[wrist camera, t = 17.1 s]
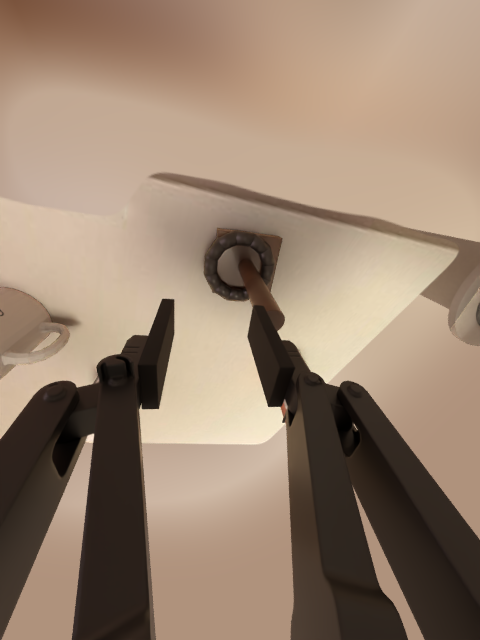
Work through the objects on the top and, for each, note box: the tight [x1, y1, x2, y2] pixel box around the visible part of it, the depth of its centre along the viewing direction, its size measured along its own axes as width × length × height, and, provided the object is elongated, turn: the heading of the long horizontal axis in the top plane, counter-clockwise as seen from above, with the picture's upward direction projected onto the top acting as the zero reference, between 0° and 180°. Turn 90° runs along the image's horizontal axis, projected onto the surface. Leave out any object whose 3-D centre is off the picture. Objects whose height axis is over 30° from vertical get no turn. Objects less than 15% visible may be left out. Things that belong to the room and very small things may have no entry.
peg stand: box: [212, 228, 285, 331], centre depth 24 cm, size 8×8×16 cm
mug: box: [0, 287, 70, 380], centre depth 27 cm, size 12×9×10 cm
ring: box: [204, 230, 275, 301], centre depth 28 cm, size 9×9×2 cm
